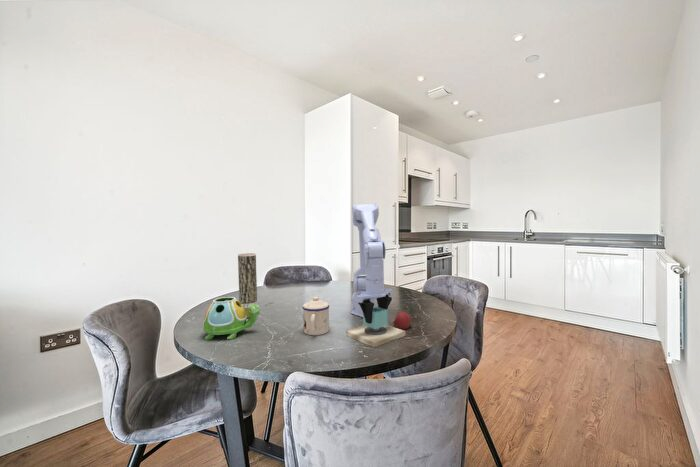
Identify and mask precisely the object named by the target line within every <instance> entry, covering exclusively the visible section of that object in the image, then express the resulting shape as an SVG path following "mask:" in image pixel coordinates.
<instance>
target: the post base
mask: <svg viewBox="0 0 700 467" xmlns="http://www.w3.org/2000/svg"><path fill="white" fill-rule="evenodd" d="M346 336H347V337H349V338H351V339H353V340H356V341H358V342H360V343H362V344H365V345H367V346H370V347H372V348H377V347H380V346H383V345H384V344H385V345H386V344H388V343H390V342H393V341H394V340H398V339H401V338H403V337H405V336H406V330H405V329H398V328H396V327H395V326H392V325H389V324H388V325H386V326H383V327H380V328H377V329H373V328H371V327H368V326H365V325H361V326H357V327H354V328H351V329H347V330H346Z"/></svg>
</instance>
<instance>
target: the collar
mask: <svg viewBox="0 0 700 467" xmlns="http://www.w3.org/2000/svg"><path fill="white" fill-rule="evenodd" d="M388 323H389V322H388V309H387V310H386V309H383V308H379V307H378V306H376V305H375V306H374V307H373V311H372V323H371V324H369V323H366V321H365V317H364V314H363V317H362V326H364V325H365V326H368V327H371V328H373V329H377V328H380V327H383V326H386V325H389V324H388Z"/></svg>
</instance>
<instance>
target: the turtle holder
mask: <svg viewBox="0 0 700 467" xmlns="http://www.w3.org/2000/svg"><path fill="white" fill-rule="evenodd" d="M260 311H261V308H260V306H259V304H258V303H257V304H255V305H251V306H250V307H249V309H248V313H249V315H250V316H249V318H247V317H246V313H245V309H244V307H243V306H242V304H241V303H240V302H239V299H237V298H236V297H234V296H225V297H224V296H223V297H217V298H215V299H213V300H212V303H211V304H210V305H209V306H208V307H207V309H206V310H205V314H204V318H203V321H202V323H203V331H204V333H205V334H207V335H206V336H205V337H204V340H212V339H214V337H215V335H216V336H217V335H218V336H220V335H227V337H226V340H228V339H230V340H233V338H234V339H235V338H236V337H237V333H239V332H241V331H243V330H245V329H248V328H252V327H253V326H254V325H255V324H256V322H257V320H258V315H259V314H260Z"/></svg>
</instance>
